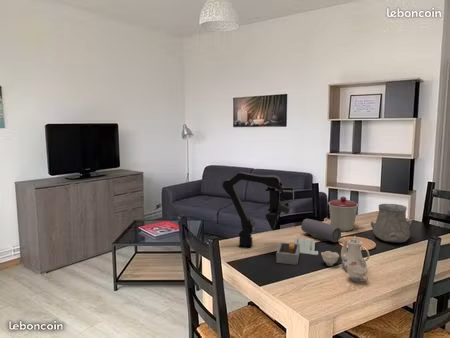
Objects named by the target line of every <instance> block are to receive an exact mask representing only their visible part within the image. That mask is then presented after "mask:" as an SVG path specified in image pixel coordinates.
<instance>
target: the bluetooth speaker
mask: <svg viewBox="0 0 450 338" xmlns="http://www.w3.org/2000/svg"><path fill="white" fill-rule="evenodd" d="M300 227H301V231H302V232H304V233H306V234H308V235H309V236H310V235H311V236H312V238H315V239H317V240H320V241H324V242H333V243H337V242H338V241H339V240H340V239H341V237H342V231H341V230H340V228H338V227H336V226H333V225H331V223H330V224H329V223H327V222H323V221H320V220H316V219H311V218H305V219H303V220H302V222H301V226H300Z"/></svg>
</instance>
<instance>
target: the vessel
mask: <svg viewBox="0 0 450 338" xmlns="http://www.w3.org/2000/svg"><path fill="white" fill-rule="evenodd" d="M407 209H408V208H407V206H406V205H402V204H396V203H380V204H379V205H378V213H377V217H376V221H375V223H374V221H371V222H370V226H371V229H372V230H373V234H374V235H375V237H377V238H378V239H379V240H381V241H383V242H388V243H397V244H398V243H399V244H400V243H405V242H406V241H407V240H408V239H410V235H411V231H410V228H411V225H412V220H410V219H409V220H407V217H406V216H407V215H406V213H407Z"/></svg>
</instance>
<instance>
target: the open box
mask: <svg viewBox="0 0 450 338" xmlns="http://www.w3.org/2000/svg"><path fill="white" fill-rule="evenodd" d="M289 244H290V242H280V243H279V246H278V247H277V251H276V255H275V256H276V261H275V262H276V263H277V264H285V265H287V264H288V265H294V266H295V265H296V266H297V265H298V263H299V258H300V254H301V253H300V244H295V254H290V253H289ZM283 252H288V253H283Z"/></svg>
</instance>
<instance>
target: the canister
mask: <svg viewBox="0 0 450 338" xmlns="http://www.w3.org/2000/svg"><path fill="white" fill-rule="evenodd" d="M327 204H328V206H329V207H328V208H329V219H330V225H333V226H336V227H338V228H340V230H341V232H349V231H352V230H353V228H354V227H355V223H356V218H357V217H356V215H357V210H358V206H359V204H358V203H357V202H356V201H354V200H349V199H347V197H345V196H341V197H340V198H339V199H332V200H330V201H328V203H327Z"/></svg>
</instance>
